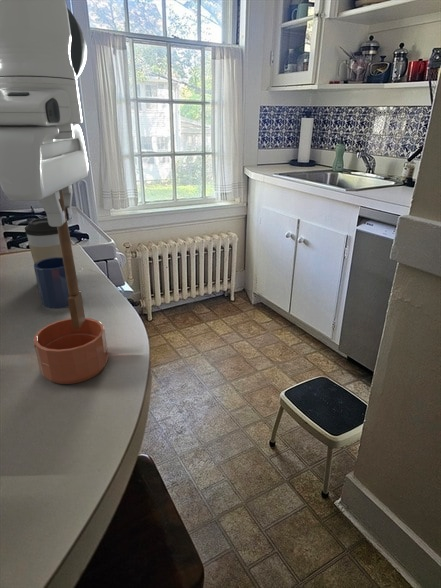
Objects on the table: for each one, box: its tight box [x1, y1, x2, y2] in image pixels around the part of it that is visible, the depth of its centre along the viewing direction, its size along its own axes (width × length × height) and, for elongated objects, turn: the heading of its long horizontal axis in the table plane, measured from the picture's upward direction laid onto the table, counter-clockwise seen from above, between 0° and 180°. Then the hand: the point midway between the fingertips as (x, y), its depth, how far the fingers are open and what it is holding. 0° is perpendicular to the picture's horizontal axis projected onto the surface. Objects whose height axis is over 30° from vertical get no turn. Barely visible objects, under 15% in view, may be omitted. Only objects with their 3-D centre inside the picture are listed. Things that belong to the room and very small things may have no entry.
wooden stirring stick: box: [57, 189, 86, 329], centre depth 54 cm, size 1×3×21 cm, turn 2°
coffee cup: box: [24, 217, 62, 265], centre depth 90 cm, size 9×9×15 cm
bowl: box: [33, 317, 109, 385], centre depth 60 cm, size 10×10×6 cm
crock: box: [33, 257, 70, 310], centre depth 80 cm, size 7×7×9 cm
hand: (61, 222), depth 52 cm, fingers closed on wooden stirring stick, 1 cm apart
